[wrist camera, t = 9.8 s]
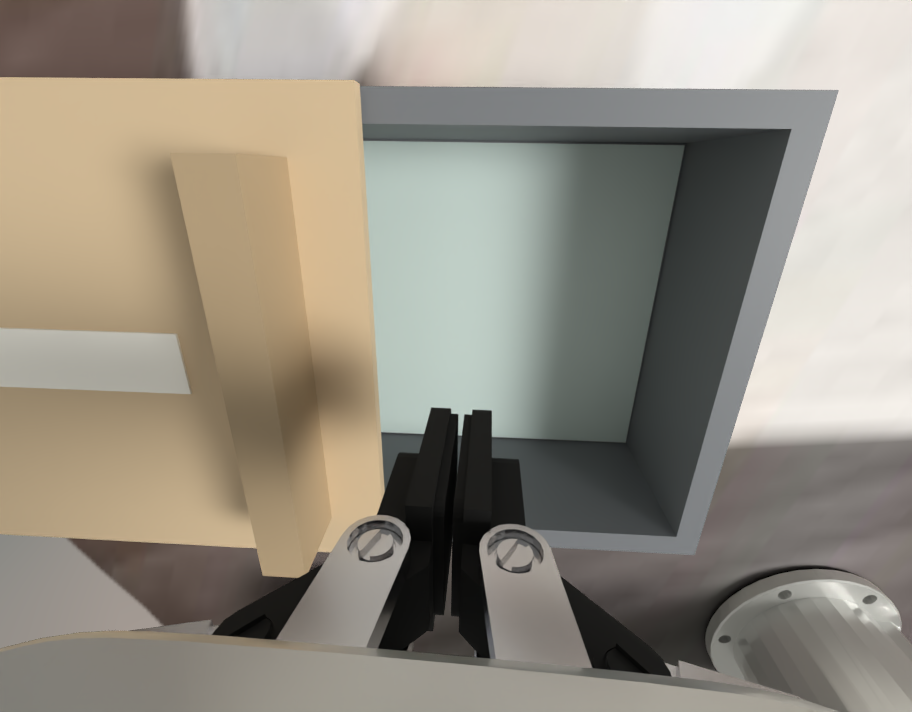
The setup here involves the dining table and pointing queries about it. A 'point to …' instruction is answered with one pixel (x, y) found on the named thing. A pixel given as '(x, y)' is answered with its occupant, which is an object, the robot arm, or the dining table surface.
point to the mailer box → (583, 284)
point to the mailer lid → (187, 314)
